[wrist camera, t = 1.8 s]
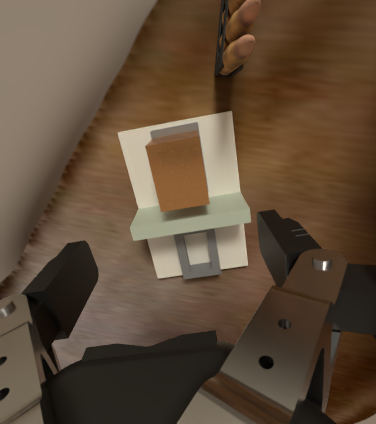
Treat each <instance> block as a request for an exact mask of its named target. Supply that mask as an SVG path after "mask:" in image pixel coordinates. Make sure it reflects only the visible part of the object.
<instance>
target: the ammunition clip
mask: <svg viewBox="0 0 376 424" xmlns="http://www.w3.org/2000/svg"><path fill="white" fill-rule="evenodd" d="M260 6H261V2H260V0H222V1H221V11H220V22H219V32H218V42H217V53H216V63H215V74H214V75H215V76H224V77H233V76H234V75H235V74H236V73H237V72H239V71H240V70H241V69H242V68H243V63H244V62H245V61H246V60H247V58H248V56H249V55H250V54H251V53H252V51H253V49H254V47H255V38H254V37H253V36H252V35H248V33H249V32H250V31H251V29H252V27H253V24H254V21H255V20H256V18H257V16H258V14H259V12H260Z"/></svg>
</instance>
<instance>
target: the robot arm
mask: <svg viewBox="0 0 376 424" xmlns="http://www.w3.org/2000/svg"><path fill="white" fill-rule="evenodd" d="M257 224H258V235H259V245H260V250H261V254H262V256H263V259H264V261H265V263H266V265H267V267H268V269H269V271H270V273H271V275H272V277H273V280H274V282H275V284H276V286H275V285H274V286H272V287H271V288H270V289H269V291H268V293H267V294H266V296H265V298H264V299H263V301H262V302H261V304H260V306H259V307H258V309H257V310H256V312H255V314H254V315H253V317H252V319H251V320H250V322H249V323H248V325H247V327H246V328H245V330H244V332H243V333H242V335H241V336H240V338H239V340H238V341H237V343H236V345H233V344H230V343H225V342H219V341H217V336H216V331H208V332H200V333H193V334H185V335H181V336H178V337H175V338H173V339H170V340H167V341H164V342H161V343H159V344H156V345H153V346H149V347H143V346H134V345H125V344H110V345H103V346H95V347H88V348H86V350H85V353H84V355H83V357H82V360H80V361H77V362H75V363H73V364H71V365H69V366H67V367H65V368H64V369H62V370H61V367H60V364H59V361H58V358H57V355H56V351H55V349H54V347H53V345H52V343H53V341H54V340H59V339H66V338H69V336H70V334H71V332H72V330H73V328H74V326H75V324H76V322H77V320H78V318H79V316H80V314H81V312H82V310H83V308H84V306H85V304H86V302H87V300H88V299H89V297H90V295H91V293H92V291H93V289H94V287H95V285H96V283H97V281H98V268H97V265H96V263H95V260H94V258H93V255H92V252H91V250H90V247H89V245H88V243H87V242H86V241H79V242H72V243H68V244H67V245H66V246H65V247H64V248H63V249H62V251H61V252H60V253H59V254H58V255H57V256H56V257H55V258H54V259H52V260H51V261H49V262H48V263H47V265H46V266H45V267H44V268H43V269H42V271H40V273H39V274H38V275H37V277H35V278H34V279H33V281H32V282H31V283H30V284H29V285H28V286H27V287H26V289H25V290H24V291H23V292H22V293H21V294H17V295H12V296H9V297H7V298H4V299H2V300H0V424H336V423H335V422H334V421H333V420H332V419H330V418H329V417H328V416H327V415H326V414H325V410H326V406H327V400H328V395H329V387H330V381H331V376H332V372H333V368H334V364H335V360H336V356H337V352H338V348H339V344H340V340H341V336H342V333H343V331H349V332H357V333H364V334H372V335H373V337H374V338H375V339H376V265H357V264H349V263H347V260H346V259H345V258H344V257H343V256H342V255H341V254H339V253H337V252H334V251H331V250H327V249H322V248H321V247H320V246H319V245H318V244H317V243H316V241H315V240H314V239H313V238H312V237H311V236H310V235H308V233H307V232H306V230H305V229H304V228H303V227H302V226H301V225H300V224H299V223H298V222H296V221H294V220H292V219H290V218H285V219H282V218H281V217H280V216H279V214H278V213H277V212H276V211H275V210H268V211H262V212H257Z"/></svg>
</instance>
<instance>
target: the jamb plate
mask: <svg viewBox="0 0 376 424" xmlns="http://www.w3.org/2000/svg"><path fill="white" fill-rule="evenodd" d="M193 130H198V134H199V138H200V145H201V151H202V157H203V164H204V170H205V176H206V183H207V189H208V195H209V202H210V204H208V205H201V206H195V207H189V208H183V209H177V210H171V211H165V212H161V210H160V206H159V202H158V198H157V193H156V189H155V185H154V181H153V177H152V173H151V168H150V164H149V160H148V156H147V152H146V148H145V146H146V145H147V144H148V143H149V142H150V141H151V140H152V138H156V137H161V136H167V135H172V134H177V133H183V132H188V131H193ZM118 136H119V140H120V143H121V147H122V150H123V154H124V158H125V161H126V165H127V168H128V172H129V176H130V179H131V183H132V187H133V190H134V194H135V197H136V201H137V205H138V208H139V209H138V211H137V214H136V216H135V218H134V220H133V222H132V224H131V226H130V230H131V234H132V237H133V240H134V241H136V240H143V239H147V241H148V244H149V248H150V252H151V255H152V259H153V262H154V266H155V270H156V273H157V277H158V279H159V278H166V277H172V276H179V275H183V278H184V279H191V278H198V277H205V276H212V275H218V274H221V269H227V268H234V267H241V266H248V261H247V251H246V242H245V232H244V223H250V222H251V218H250V208H249V207H248V205H247V203H246V201H245V199H244V198H243V196H242V194H241V192H240V185H239V175H238V166H237V156H236V147H235V137H234V128H233V118H232V111H227V112H222V113H217V114H211V115H206V116H201V117H196V118H190V119H185V120H180V121H175V122H169V123H164V124H159V125H154V126H148V127H143V128H138V129H133V130H127V131H122V132H119V133H118Z"/></svg>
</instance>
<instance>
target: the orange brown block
mask: <svg viewBox="0 0 376 424" xmlns="http://www.w3.org/2000/svg"><path fill="white" fill-rule="evenodd" d="M145 148H146V152H147V156H148V160H149V164H150V168H151V173H152V177H153V181H154V185H155V189H156V193H157V198H158V202H159V206H160V210H161V212H165V211H171V210H177V209H183V208H189V207H195V206H201V205H208V204H210V202H209V195H208V189H207V183H206V176H205V170H204V164H203V157H202V151H201V145H200V138H199V134H198V130H193V131H188V132H183V133H177V134H172V135H167V136H161V137H156V138H152V140H151V141H150V142H149V143H148V144H147V145H146V146H145Z"/></svg>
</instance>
